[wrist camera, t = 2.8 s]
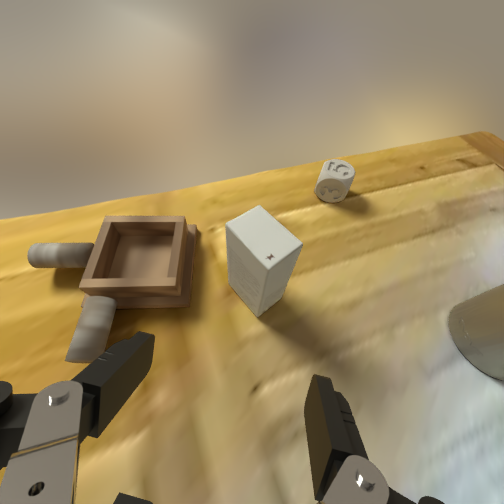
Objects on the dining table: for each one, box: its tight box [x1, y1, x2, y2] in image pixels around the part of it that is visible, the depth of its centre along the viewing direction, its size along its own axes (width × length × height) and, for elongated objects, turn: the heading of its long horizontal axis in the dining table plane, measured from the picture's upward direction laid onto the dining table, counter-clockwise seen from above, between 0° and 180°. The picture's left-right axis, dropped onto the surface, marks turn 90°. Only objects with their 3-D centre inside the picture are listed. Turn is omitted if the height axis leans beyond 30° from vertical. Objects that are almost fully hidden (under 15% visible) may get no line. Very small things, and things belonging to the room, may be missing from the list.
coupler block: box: [28, 216, 197, 363], centre depth 28 cm, size 18×18×4 cm
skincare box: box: [225, 205, 303, 317], centre depth 25 cm, size 6×4×12 cm
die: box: [314, 159, 355, 203], centre depth 39 cm, size 5×5×5 cm
